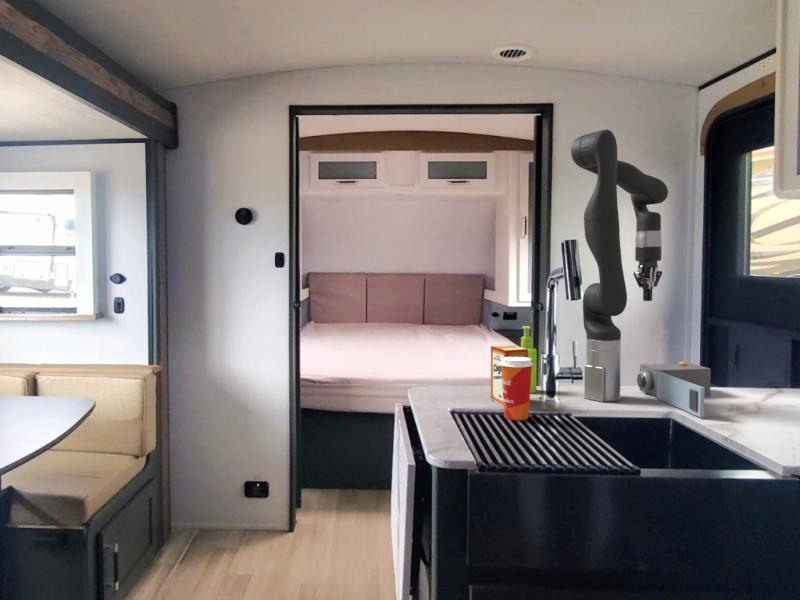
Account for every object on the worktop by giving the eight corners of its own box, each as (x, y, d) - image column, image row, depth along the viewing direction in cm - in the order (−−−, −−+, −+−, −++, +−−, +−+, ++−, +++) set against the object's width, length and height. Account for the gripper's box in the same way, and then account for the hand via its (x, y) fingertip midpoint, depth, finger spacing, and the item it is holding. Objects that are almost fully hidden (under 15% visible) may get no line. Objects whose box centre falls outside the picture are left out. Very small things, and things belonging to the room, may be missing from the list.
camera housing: (710, 395, 159) (710, 365, 158) (649, 398, 157) (649, 367, 157) (689, 388, 169) (689, 360, 168) (631, 390, 167) (632, 362, 167)
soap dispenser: (534, 388, 171) (534, 325, 170) (537, 393, 164) (537, 327, 163) (515, 388, 172) (515, 325, 171) (518, 393, 165) (517, 327, 164)
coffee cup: (499, 412, 143) (499, 355, 142) (531, 413, 142) (531, 356, 141) (499, 421, 135) (499, 361, 134) (534, 422, 134) (534, 361, 133)
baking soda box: (527, 405, 150) (527, 347, 149) (506, 407, 148) (506, 349, 148) (511, 398, 159) (511, 343, 158) (491, 399, 158) (490, 344, 157)
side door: (698, 417, 135) (699, 387, 134) (653, 396, 157) (653, 371, 157) (704, 417, 135) (705, 387, 134) (658, 396, 157) (658, 371, 157)
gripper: (648, 246, 179) (648, 299, 180) (625, 246, 171) (624, 301, 172) (671, 245, 173) (670, 300, 174) (647, 245, 165) (647, 302, 166)
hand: (647, 300), depth 173 cm, fingers closed
